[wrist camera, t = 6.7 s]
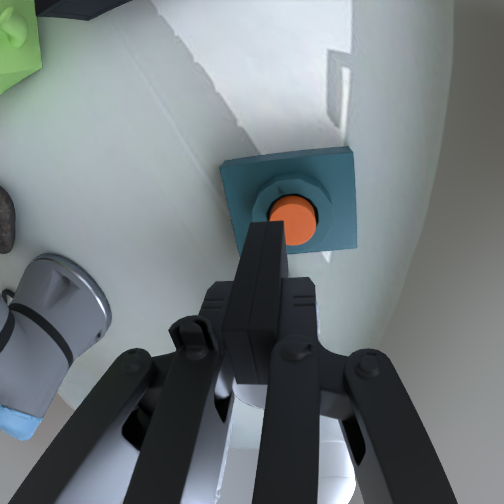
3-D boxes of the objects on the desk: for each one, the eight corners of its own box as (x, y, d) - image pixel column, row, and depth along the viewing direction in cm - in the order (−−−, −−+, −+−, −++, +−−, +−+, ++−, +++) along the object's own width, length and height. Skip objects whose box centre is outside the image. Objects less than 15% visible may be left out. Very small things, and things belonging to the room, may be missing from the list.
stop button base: (243, 246, 32) (237, 269, 28) (224, 160, 27) (214, 174, 24) (353, 236, 30) (360, 259, 26) (348, 146, 25) (357, 157, 22)
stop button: (273, 237, 27) (272, 247, 25) (267, 197, 25) (265, 206, 23) (316, 233, 26) (317, 243, 24) (312, 193, 24) (313, 201, 23)
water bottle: (292, 388, 44) (280, 547, 23) (312, 361, 40) (306, 545, 19) (334, 396, 44) (335, 547, 23) (357, 371, 40) (368, 541, 19)
